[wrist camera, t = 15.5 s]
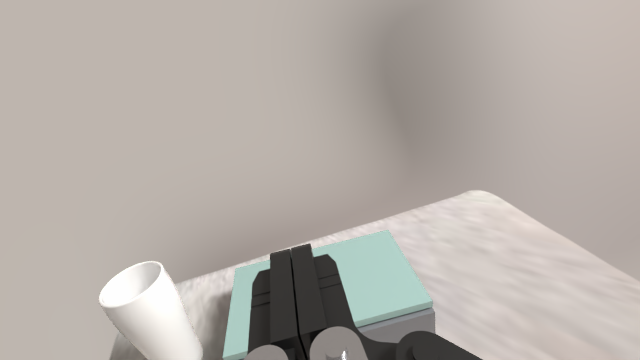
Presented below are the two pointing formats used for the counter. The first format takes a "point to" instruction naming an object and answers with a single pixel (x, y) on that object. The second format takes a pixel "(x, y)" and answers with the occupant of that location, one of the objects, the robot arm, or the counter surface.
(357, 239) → the panel
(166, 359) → the white tapered cylinder
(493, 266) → the counter surface
